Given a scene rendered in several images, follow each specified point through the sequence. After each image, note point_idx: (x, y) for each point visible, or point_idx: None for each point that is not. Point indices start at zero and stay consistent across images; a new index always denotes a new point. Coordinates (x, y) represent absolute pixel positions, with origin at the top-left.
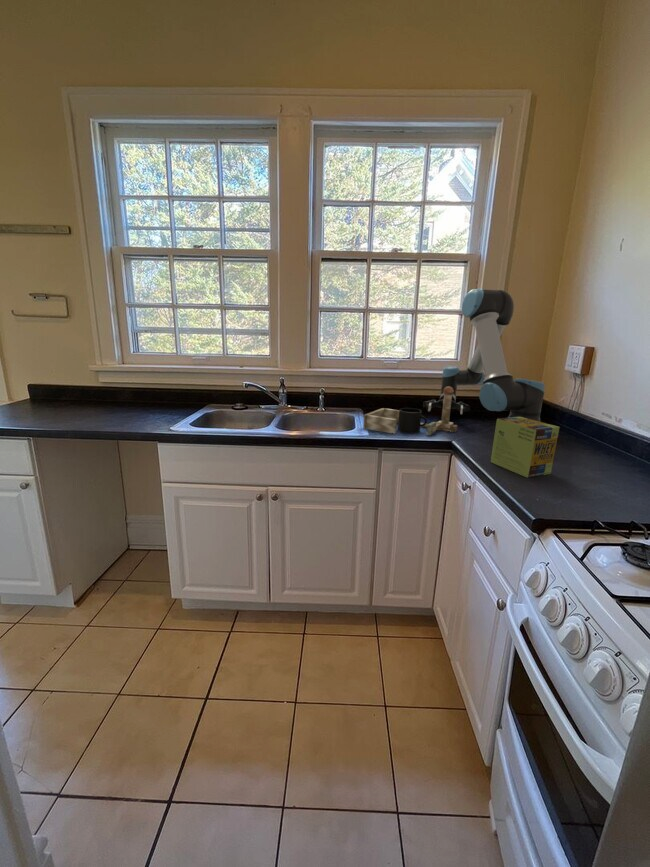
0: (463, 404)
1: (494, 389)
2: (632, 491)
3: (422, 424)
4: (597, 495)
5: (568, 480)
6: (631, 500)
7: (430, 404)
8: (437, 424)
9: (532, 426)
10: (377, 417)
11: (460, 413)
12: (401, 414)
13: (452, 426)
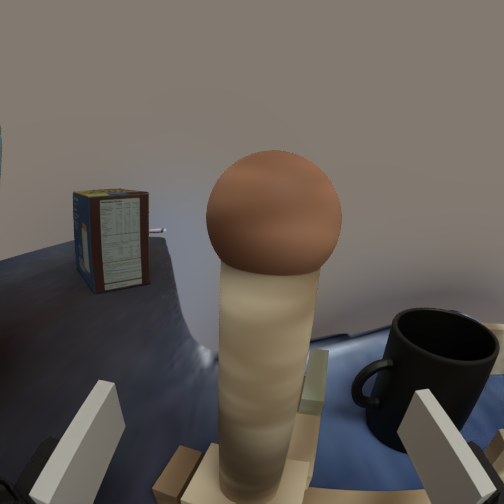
0: (15, 489)
1: (1, 155)
2: (28, 254)
3: (367, 397)
4: (74, 250)
5: (71, 261)
6: (52, 248)
7: (441, 425)
8: (295, 435)
9: (115, 189)
10: (494, 324)
11: (123, 421)
12: (450, 326)
13: (195, 452)
